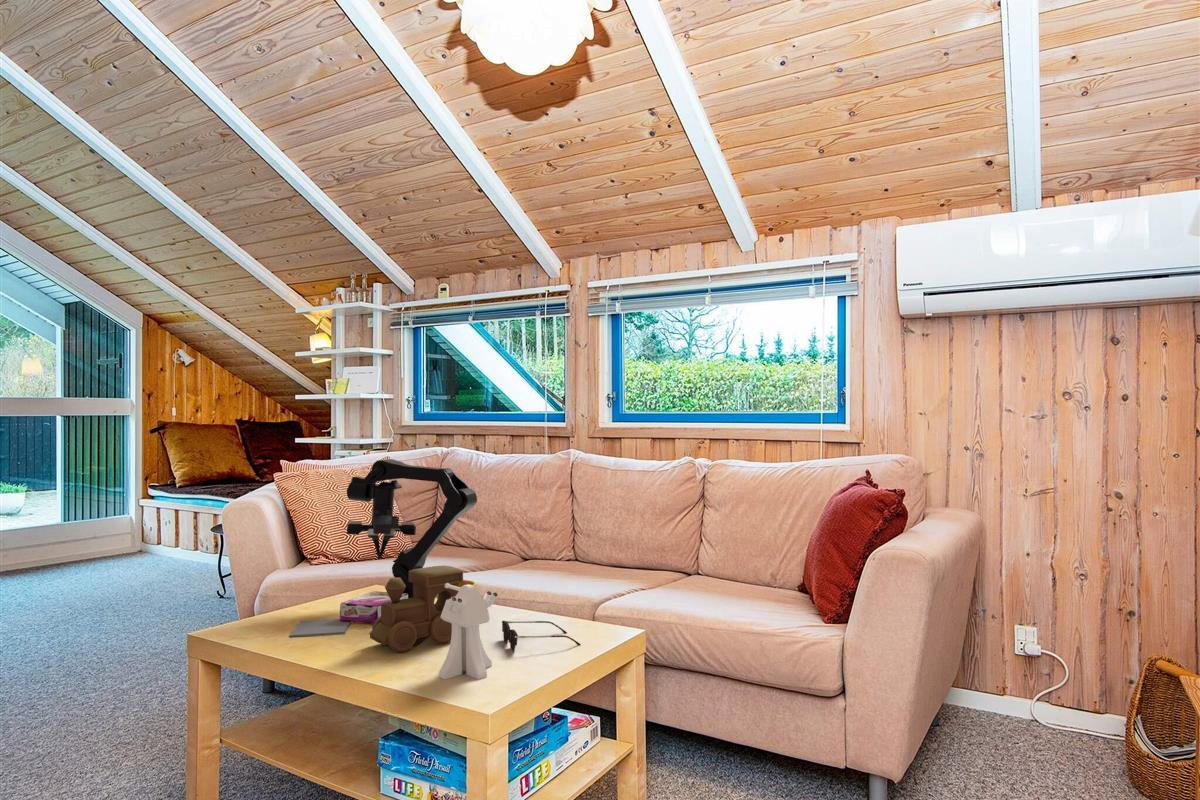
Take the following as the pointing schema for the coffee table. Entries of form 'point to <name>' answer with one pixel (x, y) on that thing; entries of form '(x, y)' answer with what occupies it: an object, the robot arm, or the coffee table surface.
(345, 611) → the candy bar box
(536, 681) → the coffee table surface
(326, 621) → the mat
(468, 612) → the toy gun turret
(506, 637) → the sunglasses
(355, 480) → the robot arm
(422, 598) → the wooden toy train
